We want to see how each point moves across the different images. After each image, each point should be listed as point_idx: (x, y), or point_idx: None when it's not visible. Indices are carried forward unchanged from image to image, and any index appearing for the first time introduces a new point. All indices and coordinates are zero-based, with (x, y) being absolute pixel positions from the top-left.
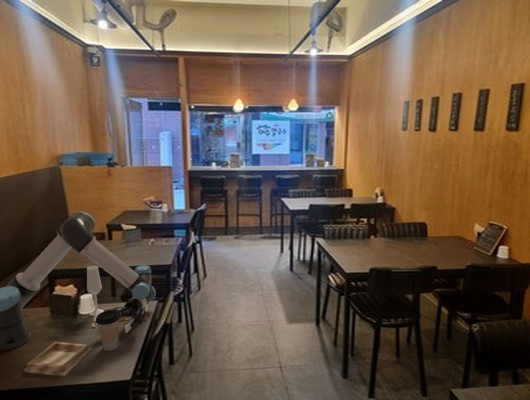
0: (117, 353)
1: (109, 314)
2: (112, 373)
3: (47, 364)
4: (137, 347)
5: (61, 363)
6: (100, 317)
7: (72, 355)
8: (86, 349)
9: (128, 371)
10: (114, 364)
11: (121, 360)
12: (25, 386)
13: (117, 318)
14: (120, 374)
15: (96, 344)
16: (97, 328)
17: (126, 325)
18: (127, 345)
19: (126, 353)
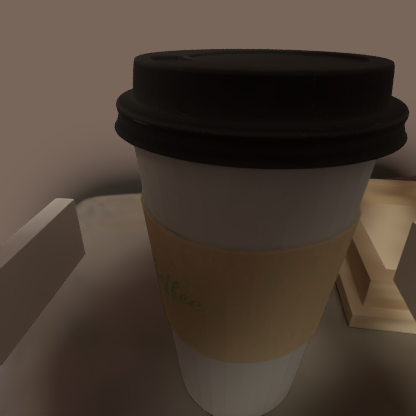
0: (157, 303)
1: (240, 63)
2: (139, 208)
3: (408, 184)
4: (19, 362)
5: (386, 223)
6: (304, 56)
7: (398, 260)
8: (359, 282)
9: (77, 215)
10: (146, 240)
11: (118, 259)
12: (391, 178)
13: (128, 91)
14: (107, 206)
15: (383, 398)
16: (399, 270)
17: (54, 210)
18: (102, 387)
19: (98, 303)
